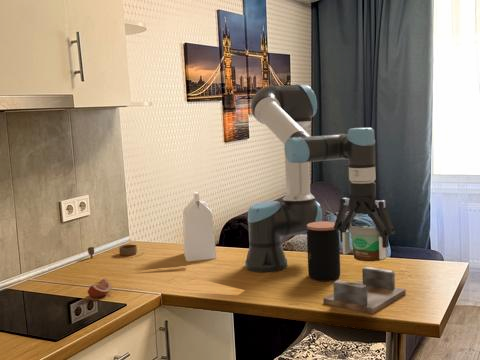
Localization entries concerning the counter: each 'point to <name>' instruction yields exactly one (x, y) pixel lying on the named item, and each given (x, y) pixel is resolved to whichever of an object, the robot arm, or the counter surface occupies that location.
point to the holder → (366, 291)
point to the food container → (365, 242)
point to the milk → (198, 231)
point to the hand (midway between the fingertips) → (364, 255)
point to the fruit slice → (99, 288)
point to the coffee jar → (323, 251)
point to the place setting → (124, 250)
